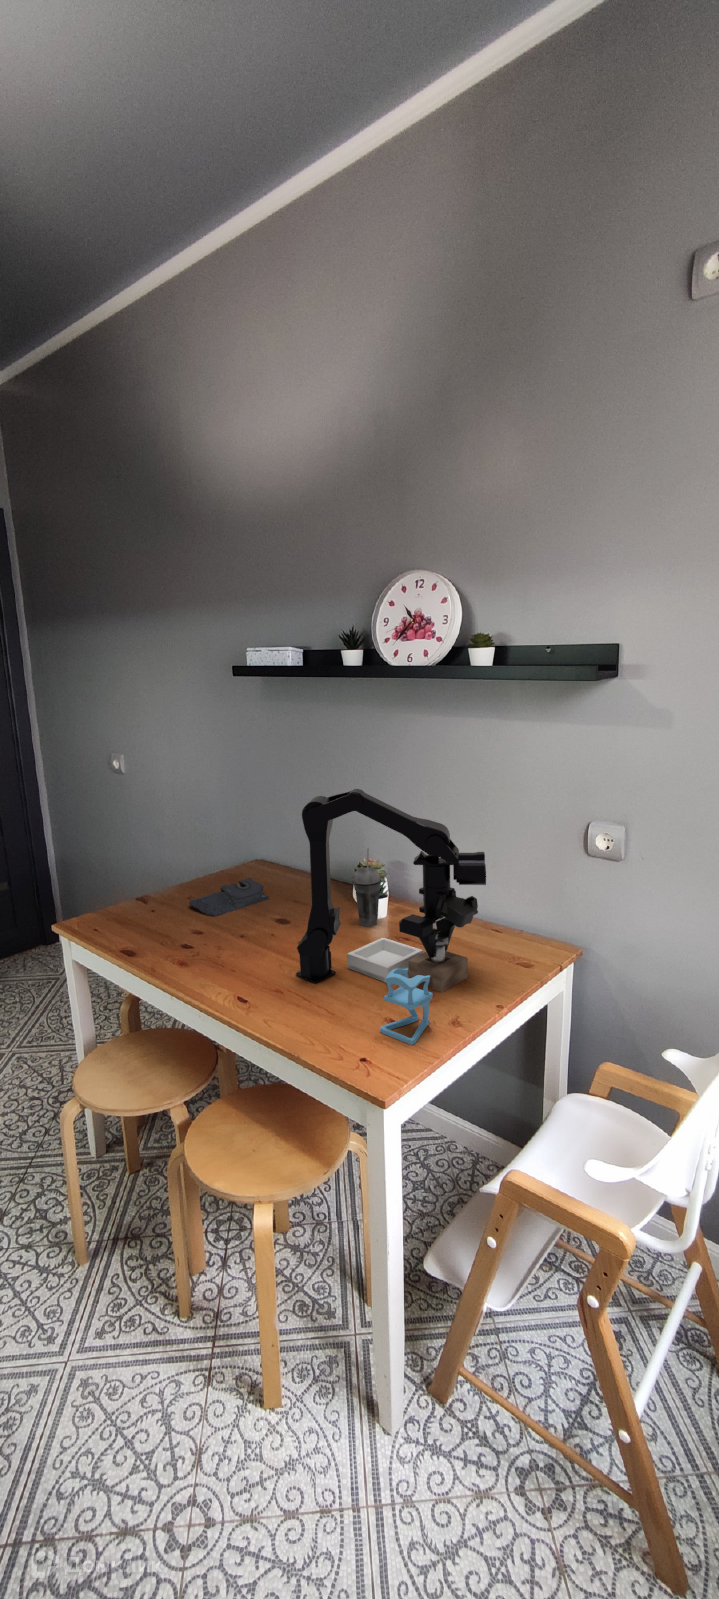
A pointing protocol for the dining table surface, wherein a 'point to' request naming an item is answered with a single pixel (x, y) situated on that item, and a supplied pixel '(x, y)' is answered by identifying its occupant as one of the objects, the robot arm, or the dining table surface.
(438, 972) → the block
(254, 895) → the grey stepped plate
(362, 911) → the beverage cup
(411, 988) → the chair
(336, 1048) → the dining table surface
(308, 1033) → the dining table surface
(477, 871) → the robot arm
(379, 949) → the tray
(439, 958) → the lock pin
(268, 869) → the dining table surface
